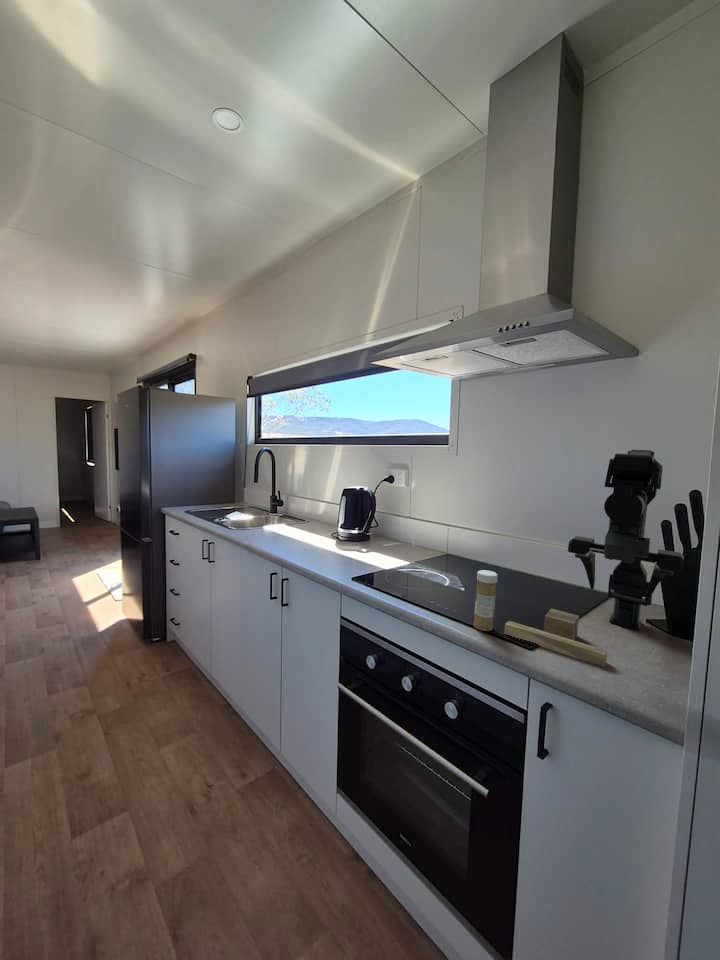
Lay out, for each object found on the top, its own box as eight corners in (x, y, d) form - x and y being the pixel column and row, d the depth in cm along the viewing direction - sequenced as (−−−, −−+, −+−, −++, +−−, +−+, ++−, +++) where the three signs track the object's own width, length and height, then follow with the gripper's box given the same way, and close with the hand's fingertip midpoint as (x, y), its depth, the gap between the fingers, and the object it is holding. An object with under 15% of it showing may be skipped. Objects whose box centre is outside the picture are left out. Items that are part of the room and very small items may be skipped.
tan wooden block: (549, 628, 98) (551, 608, 97) (576, 636, 94) (579, 615, 94) (543, 636, 93) (544, 615, 93) (571, 645, 89) (573, 623, 89)
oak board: (507, 630, 94) (508, 620, 94) (606, 662, 82) (607, 650, 82) (504, 634, 92) (505, 623, 92) (604, 667, 80) (605, 655, 80)
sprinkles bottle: (478, 621, 99) (482, 568, 98) (496, 628, 96) (501, 573, 95) (469, 627, 95) (474, 571, 94) (487, 633, 92) (492, 576, 91)
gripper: (565, 514, 78) (558, 592, 80) (688, 531, 67) (677, 621, 68) (577, 509, 87) (570, 580, 88) (687, 523, 75) (678, 604, 77)
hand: (618, 595), depth 80 cm, fingers open, 9 cm apart
